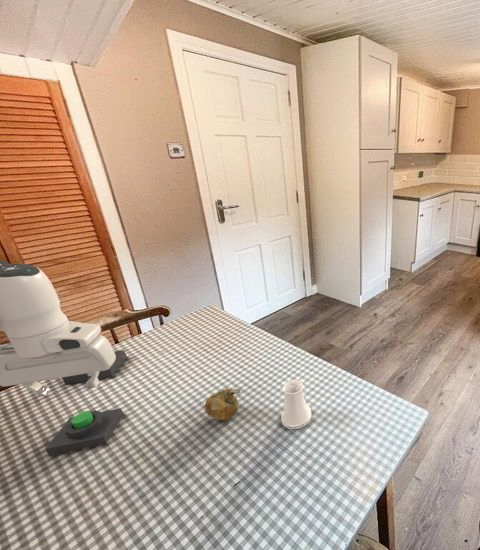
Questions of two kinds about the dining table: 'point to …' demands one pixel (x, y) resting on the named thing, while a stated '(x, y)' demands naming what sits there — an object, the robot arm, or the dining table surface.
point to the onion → (222, 404)
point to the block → (86, 433)
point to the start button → (82, 419)
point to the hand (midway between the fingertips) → (69, 390)
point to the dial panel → (102, 374)
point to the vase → (295, 406)
